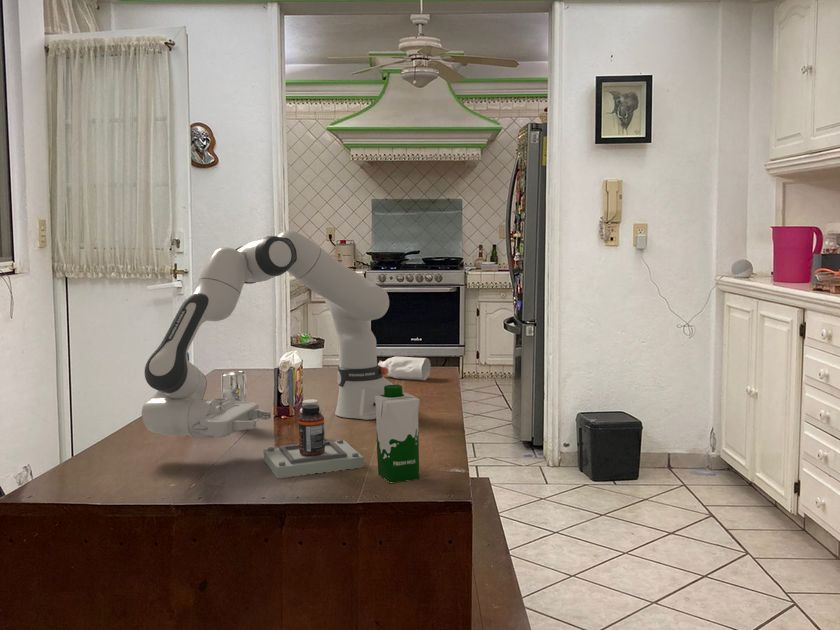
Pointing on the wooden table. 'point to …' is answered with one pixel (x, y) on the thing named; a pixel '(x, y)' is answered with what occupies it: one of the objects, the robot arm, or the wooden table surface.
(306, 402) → the supplement bottle
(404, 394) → the milk carton
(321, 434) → the supplement bottle
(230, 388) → the beer glass
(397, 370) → the white plastic bottle
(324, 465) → the grey rectangular platform
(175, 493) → the wooden table surface
